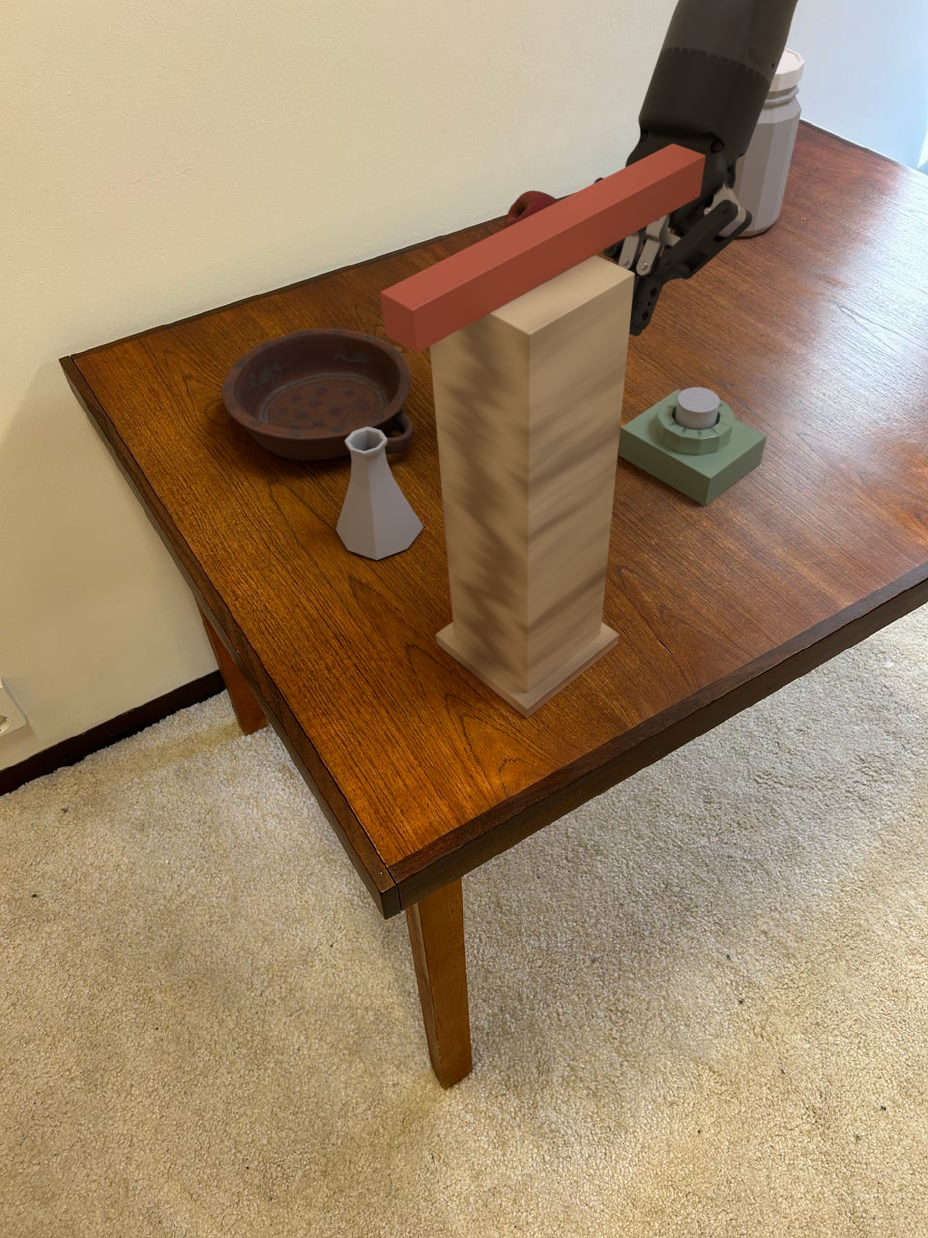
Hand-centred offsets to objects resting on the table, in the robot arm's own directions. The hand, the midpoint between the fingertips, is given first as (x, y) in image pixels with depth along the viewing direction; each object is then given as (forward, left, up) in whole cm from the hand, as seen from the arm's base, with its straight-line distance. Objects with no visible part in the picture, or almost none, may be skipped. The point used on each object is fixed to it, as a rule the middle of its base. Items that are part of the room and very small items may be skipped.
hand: (622, 331), depth 68 cm
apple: (+36, -28, -20) cm, 50 cm away
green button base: (+1, -12, -19) cm, 23 cm away
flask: (+14, +14, -20) cm, 28 cm away
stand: (-4, +14, -19) cm, 24 cm away
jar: (+25, -51, -20) cm, 60 cm away
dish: (+30, +8, -20) cm, 37 cm away
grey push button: (+1, -12, -15) cm, 19 cm away
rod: (-4, +12, +12) cm, 17 cm away
